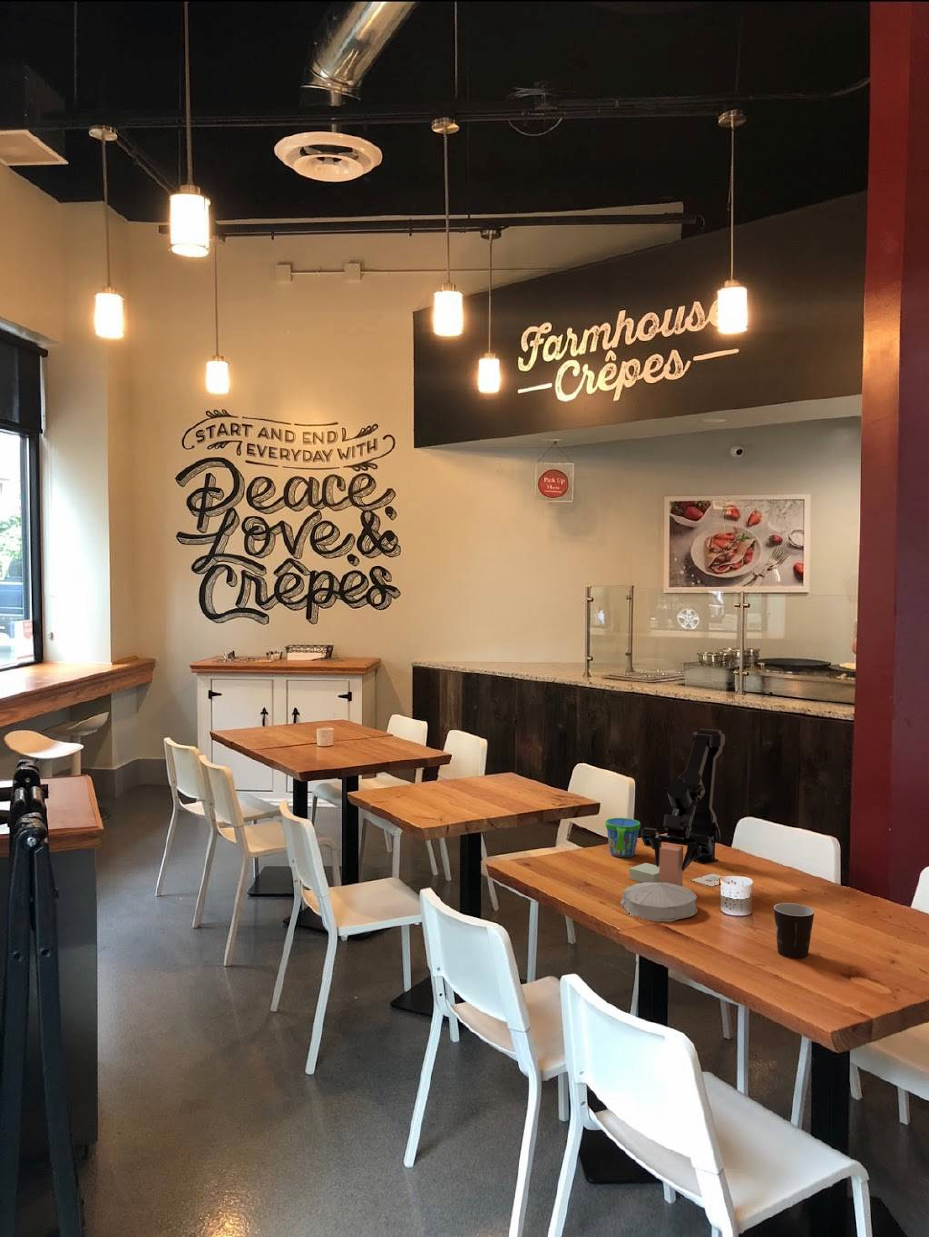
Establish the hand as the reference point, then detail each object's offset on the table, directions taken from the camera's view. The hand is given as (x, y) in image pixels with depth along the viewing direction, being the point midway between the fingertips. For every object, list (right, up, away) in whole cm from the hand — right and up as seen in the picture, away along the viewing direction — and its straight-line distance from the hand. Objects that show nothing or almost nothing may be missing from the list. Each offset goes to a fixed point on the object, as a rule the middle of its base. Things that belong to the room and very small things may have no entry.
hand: (669, 868), depth 258 cm
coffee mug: (+18, -9, -43) cm, 47 cm away
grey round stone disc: (-5, -8, -12) cm, 15 cm away
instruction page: (+14, -6, +12) cm, 20 cm away
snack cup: (-7, -6, +36) cm, 37 cm away
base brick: (-3, -6, +12) cm, 14 cm away
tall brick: (+1, -7, +1) cm, 7 cm away
